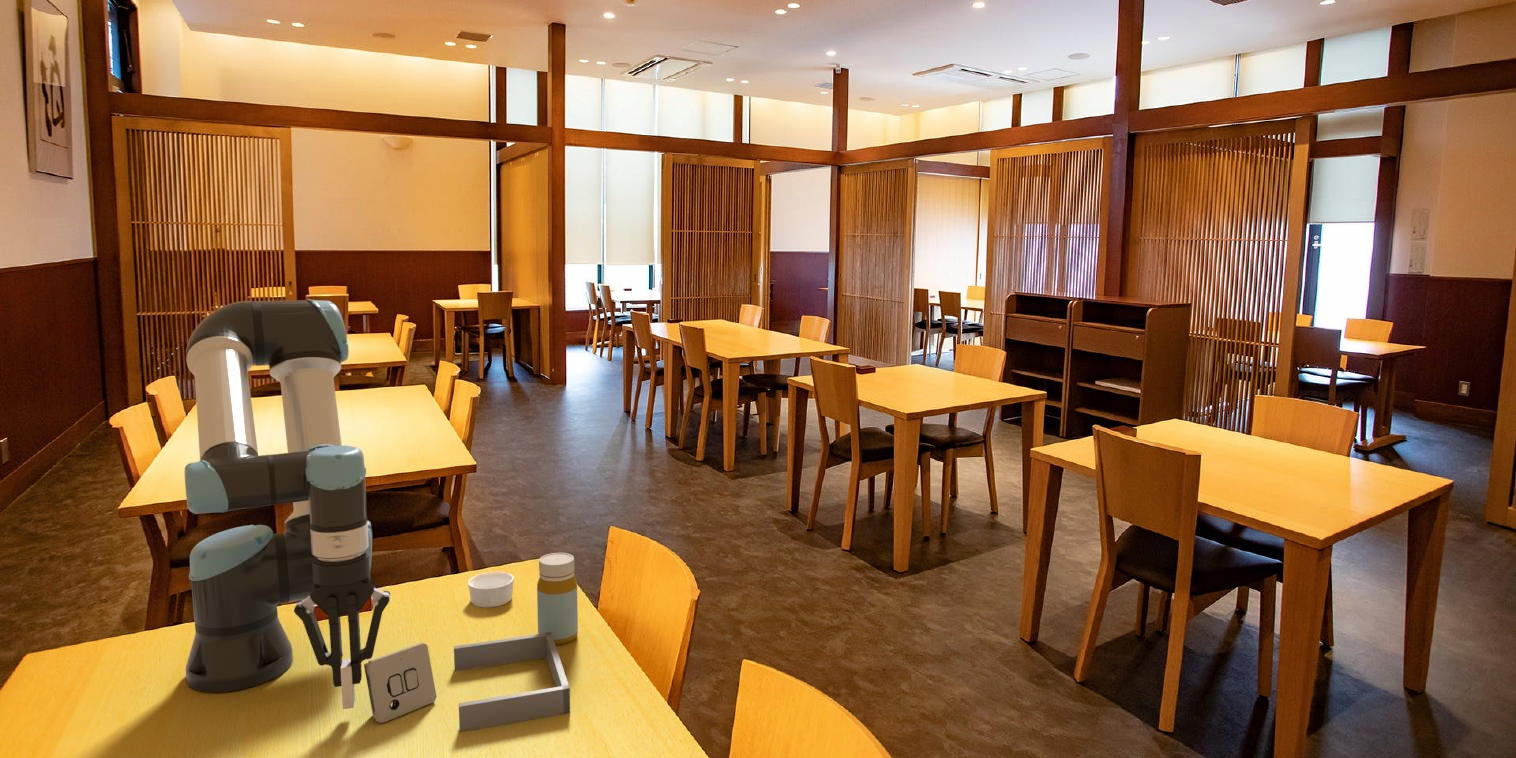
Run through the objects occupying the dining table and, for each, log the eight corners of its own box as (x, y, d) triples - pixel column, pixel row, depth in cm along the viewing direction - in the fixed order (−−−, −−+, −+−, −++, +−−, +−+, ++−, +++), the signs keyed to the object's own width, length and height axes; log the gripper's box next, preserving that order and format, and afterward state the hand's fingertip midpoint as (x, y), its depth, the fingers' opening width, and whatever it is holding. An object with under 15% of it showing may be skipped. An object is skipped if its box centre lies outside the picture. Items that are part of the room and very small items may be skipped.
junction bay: (454, 668, 144) (453, 646, 143) (551, 653, 150) (551, 632, 149) (459, 732, 126) (458, 706, 125) (570, 712, 132) (569, 688, 131)
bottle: (585, 635, 157) (584, 557, 155) (557, 649, 151) (556, 569, 149) (558, 625, 161) (557, 549, 159) (530, 639, 155) (528, 560, 153)
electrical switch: (378, 726, 127) (373, 666, 126) (363, 716, 130) (357, 657, 129) (438, 702, 134) (433, 644, 133) (421, 693, 137) (416, 637, 136)
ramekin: (460, 607, 168) (459, 586, 168) (481, 589, 177) (480, 569, 176) (502, 611, 167) (501, 590, 166) (522, 593, 175) (521, 573, 175)
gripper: (286, 566, 119) (296, 724, 123) (387, 557, 124) (394, 709, 127) (294, 549, 126) (304, 698, 130) (390, 540, 131) (397, 685, 134)
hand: (349, 704), depth 129 cm, fingers closed
